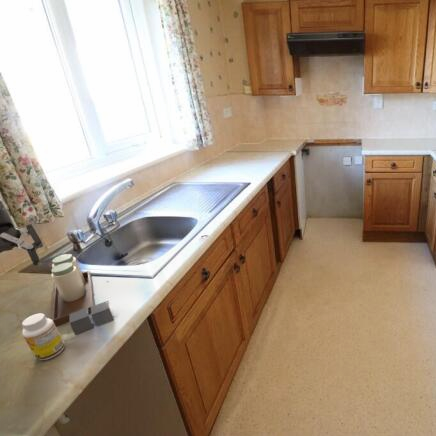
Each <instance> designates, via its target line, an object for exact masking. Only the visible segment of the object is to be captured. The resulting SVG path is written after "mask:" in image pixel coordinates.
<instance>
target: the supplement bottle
mask: <svg viewBox="0 0 436 436" xmlns="http://www.w3.org/2000/svg"><path fill="white" fill-rule="evenodd" d="M21 325H22V327H23V329H22V332H21V334H22V337H23V339H24V340H25V342H26V344H27V345H28V347H29V348H30V350H31V352H32V353H33V355H34V357H35V359H37V360H38V361H47V360H50V359H53V358H54V357H57V356H59V354H61V353H62V352H63V350H64V349H65V347H66V344H65V341H64V339H63V337H62V335H61V334H60V332H59V330H58V328H57V326H55V324H54V322H53V320H51V318H49V317H46V315H45V314H44V313H36V314H31V315H30V316H28V317H26V318H25V319H24V320H22V323H21Z"/></svg>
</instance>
